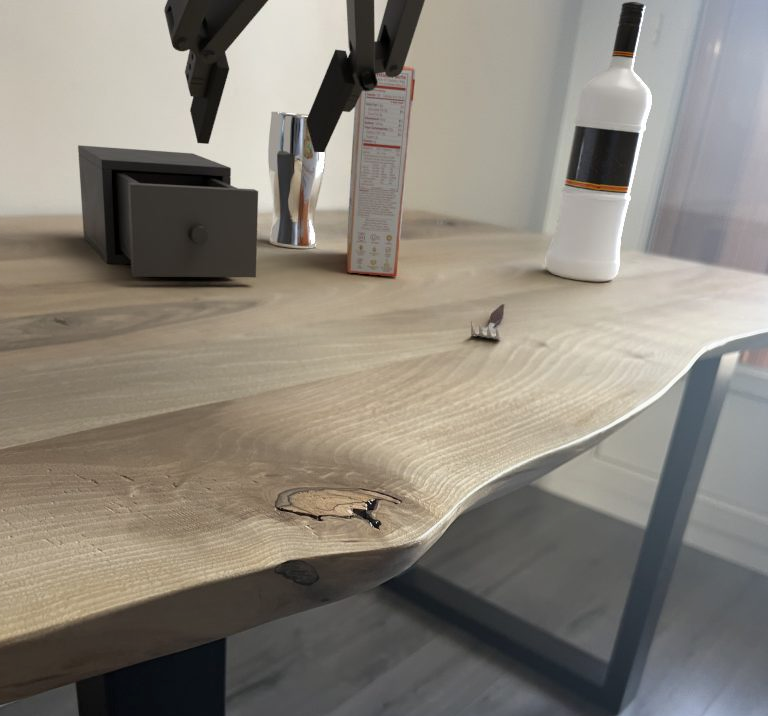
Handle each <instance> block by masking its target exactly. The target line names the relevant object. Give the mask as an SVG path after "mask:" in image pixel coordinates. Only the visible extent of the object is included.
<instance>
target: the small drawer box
mask: <svg viewBox="0 0 768 716" xmlns="http://www.w3.org/2000/svg"><path fill="white" fill-rule="evenodd" d="M77 152H78V153H77V154H78V167H79V183H80V184H79V185H80V198H81V212H82V213H81V214H82V216H81V217H82V229H83V238H84V239H85V240H86V242H87V243H88V244H89V245H90V246H91V247H92V248H93V250H94V251H95V252H96V253H97V254H98V255H99V256H100V258H101V259H102V260H103V261H104V262H105V263H106V264H108V265H131V260H130V259H129V258H128V257H127V256H126V255H125V254H124V253H123V252H122V251H121V250H120V249H119V248H118V247H117V246H116V245H115V233H114V212H113V191H112V170H119V171H136V172H153V173H169V174H186V175H204V176H210V177H213V178H215V179H217V180H220V181H222V182H224V183H227V184H229V185H231V182H232V181H231V179H232V178H231V177H232V168H231V167H230V166H227V165H224V164H222V163H219V162H217V161H214V160H211V159H208V158H206V157H204V156H200V155H198V154H195V153H193V152H192V153H191V152H180V151H179V152H178V151H166V150H165V151H164V150H163V151H162V150H149V149H135V148H122V147H109V146H93V145H80V144H79V145H77ZM231 186H232V185H231Z"/></svg>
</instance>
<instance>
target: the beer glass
mask: <svg viewBox="0 0 768 716" xmlns="http://www.w3.org/2000/svg"><path fill="white" fill-rule="evenodd" d="M308 115H309V114H304V113H295V112H283V111H271V112H270V124H269V131H268V132H269V133H268V144H267V145H268V147H267V163H268V175H269V183H270V190H271V191H270V192H271V199H272V222H271V226H270V227H271V228H270V233H269V237H268V243H269V244H270V245H272V246H276V247H281V248H288V249H303V250H304V249H305V250H306V249H314V248H316V247H317V244H318V243H317V233H316V213H317V212H316V211H317V210H316V209H317V205H318V202H319V201H318V200H319V196H320V192H321V188H322V184H323V176H324V172H325V166H326V154H327V153H326V152H327V148H326V149H325V151H324V153H321V152H314V149H313V145H312V142H311V138H310V134H309V130H308V127H307V123H306V120H307V118H308Z"/></svg>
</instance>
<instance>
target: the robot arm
mask: <svg viewBox="0 0 768 716" xmlns="http://www.w3.org/2000/svg"><path fill="white" fill-rule="evenodd" d="M268 2H269V0H166V3H165V5H164V9H163V11H164V15H165V21H166V24H167V30H168V33H169V38H170V41H171V46H172V48H173V49H174V50H176V51H178V52H186V51H188V50H189V51H188V56H187V60H186V65H185V70H184V75H185V78H186V79H185V80H186V83H187V87H188V88H187V89H188V91H189V92H188V93H189V95H190V97H192V101H191V104H190V109H189V112H190V116H191V120H192V125H193V129H194V133H195V138H196V143H197V144H202V145H203V144H204V145H209V144H210V141H211V136H212V133H213V129H214V127H215V126H214V125H215V122H216V118H217V115H218V111H219V108H220V105H221V101H222V96H223V93H224V90H225V86H226V82H227V79H228V75H229V72H230V65H229V61H228V58H227V53H226V52H227V50H228V49H229V48H230V47H231V46H232V44H233V43H234V42H235V41H236V40H237V38H239V36H240V35H241V34H242V33H243V31H245V29H246V27H248V25H249V24H250V23H251V22H252V21H253V20H254V18H255V17H256V16H257V15H258V13H259V12H260V11H261V10H262V9H263V7H264V6H266V4H267V3H268ZM425 2H426V0H387V1H386V5H385V8H384V11H383V16H382V20H381V24H380V26H379V30H378V34H377V38H376V37H375V36H376V35H375V34H376V33H375V29H376V28H375V0H346V1H345V3H346V22H347V38H348V39H347V40H348V41H347V43H348V45H347V46H348V50H349V53H347V51H346V50H343V49H334V51H333V55H332V56H331V59H330V61H329V64H328V67H327V69H326V72H325V74H324V76H323V79H322V81H321V83H320V86H319V88H318V91H317V94H316V96H315V98H314V101H313V102H312V106H311V108H310V111H309V113H308V114H307V115H308V118H307V120H306V123H307V127H308V130H309V134H310V138H311V142H312V145H313V149H314V152H321V153H324V151H325V149H326V150H327V147H328V144H329V143H330V140H331V138H332V136H333V134H334V132H335V130H336V127H337V125H338V123H339V121H340V118H341V116H342V114H343V112H346V113H350V112H352V111H353V109H355V105H356V103H357V100H358V99H359V97H360V95H361V93H362V91H371V90H373V89H374V88H376V86H377V84H378V82H377V78H376V75H375V74H378V73H383V72H385V73H386V75H387V76H388V77H396V76H398V75H399V74H400V73H401V72H402V70H403V67H404V66H405V65H406V64H405V63H406V61H407V58H408V54H409V52H410V48H411V45H412V42H413V39H414V37H415V36H414V35H415V33H416V29H417V27H418V23H419V20H420V17H421V14H422V11H423V8H424V5H425ZM375 38H376V39H375Z"/></svg>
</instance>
